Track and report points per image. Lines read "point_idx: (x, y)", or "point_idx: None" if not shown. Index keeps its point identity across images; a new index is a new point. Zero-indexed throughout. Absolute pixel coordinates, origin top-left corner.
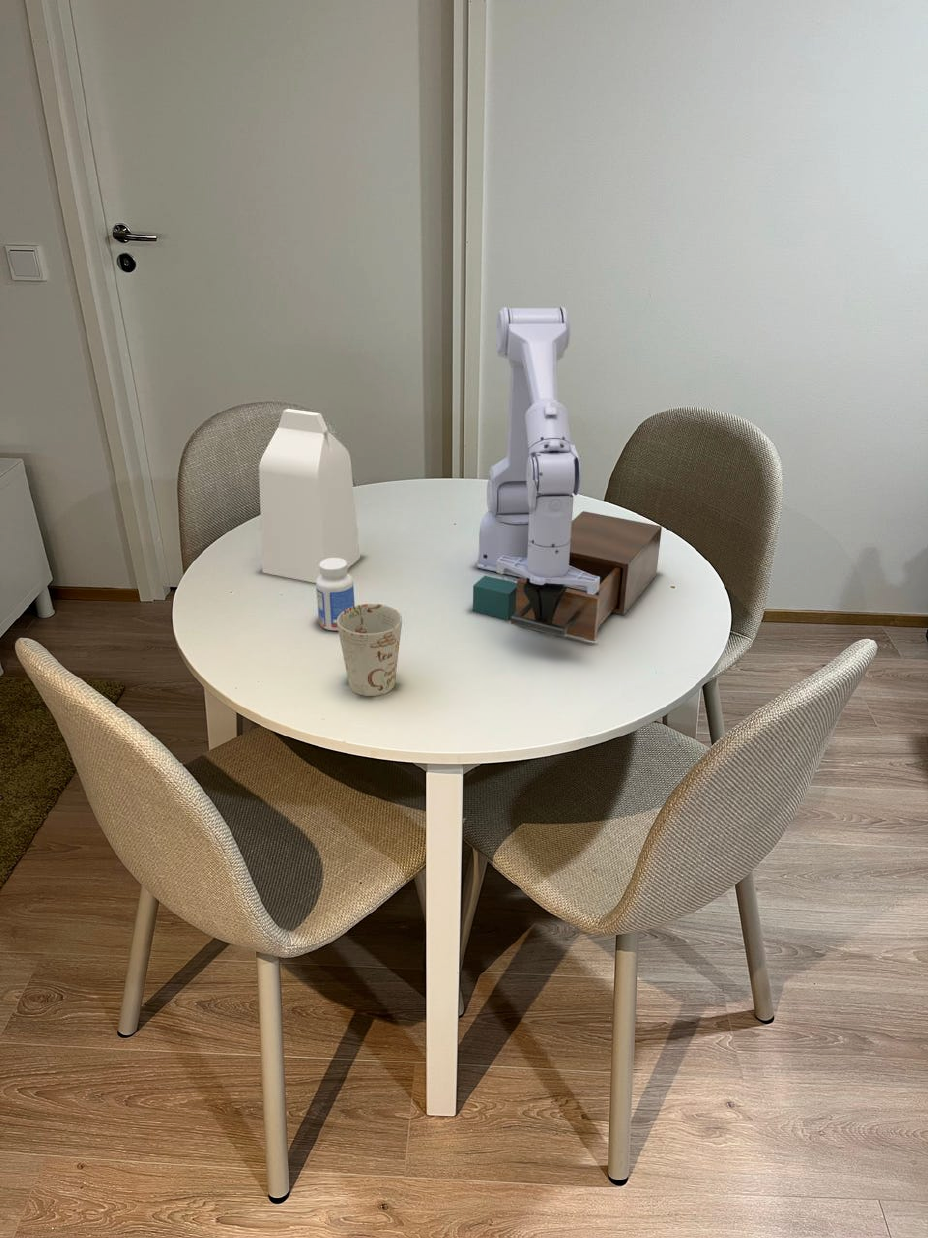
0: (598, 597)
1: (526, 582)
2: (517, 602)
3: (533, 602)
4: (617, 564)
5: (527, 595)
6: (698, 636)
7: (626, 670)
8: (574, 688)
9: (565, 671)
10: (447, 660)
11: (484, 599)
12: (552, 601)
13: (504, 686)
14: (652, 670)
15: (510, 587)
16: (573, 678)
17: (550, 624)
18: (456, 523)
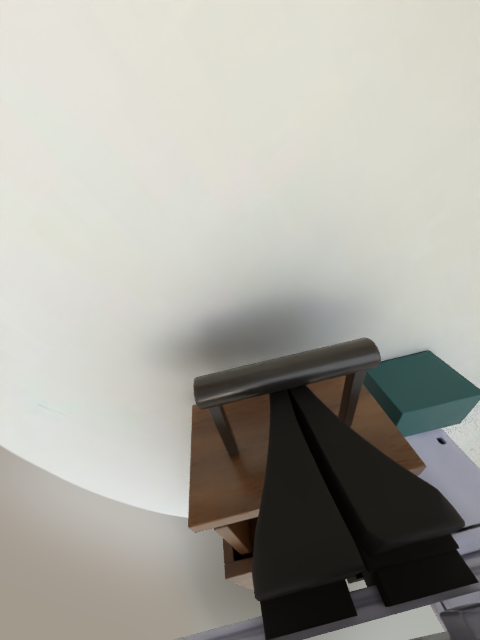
0: (192, 529)
1: (450, 538)
2: (376, 405)
3: (348, 445)
4: (245, 565)
5: (398, 471)
6: (106, 480)
7: (83, 381)
8: (82, 254)
9: (167, 304)
10: (469, 131)
11: (433, 378)
12: (269, 503)
13: (245, 99)
14: (54, 406)
15: (404, 426)
16: (128, 292)
17: (249, 393)
18: (470, 450)
